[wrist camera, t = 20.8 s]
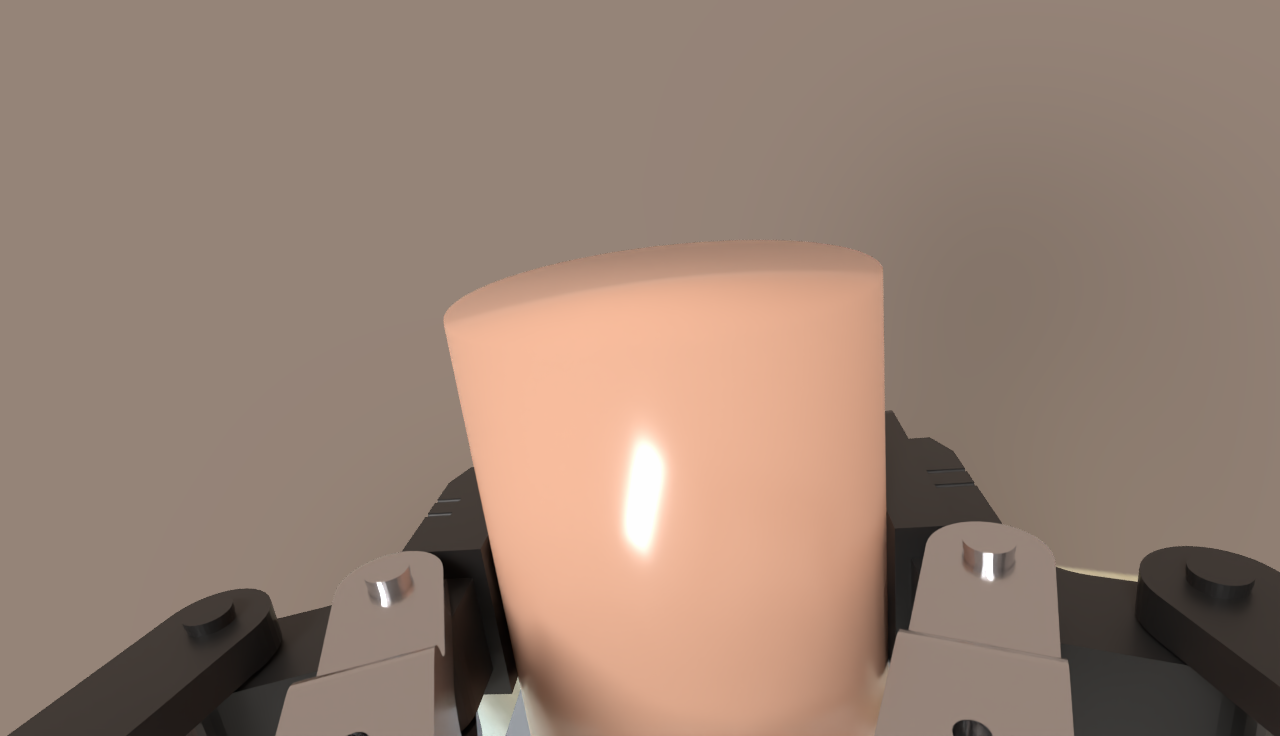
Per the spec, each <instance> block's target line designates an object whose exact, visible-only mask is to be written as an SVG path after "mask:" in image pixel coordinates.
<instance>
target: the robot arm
mask: <svg viewBox="0 0 1280 736" xmlns="http://www.w3.org/2000/svg"><path fill="white" fill-rule="evenodd" d="M885 455H886V525H887V595H888V659H889V663H890V667H889V671H888V676H887V680H886V685H885V689H884V693H883V698H882V702H881V707H880V711H879V716H878V720H877V725H876V729H875V734H874V736H1280V572H1278V571H1276V570H1275V569H1273V568H1271V567H1269V566H1267V565H1265V564H1263V563H1260V562H1258V561H1256V560H1253V559H1251V558H1248V557H1245V556H1242V555H1239V554H1235V553H1231V552H1228V551H1223V550H1218V549H1213V548H1205V547H1193V546H1182V547H1180V546H1179V547H1170V548H1164V549H1160V550H1157V551H1154V552H1152V553H1150V554H1148V555H1147V556H1146V557H1145V558H1144V559H1143V560H1142V562H1141V564H1140V568H1139V576H1138V582H1134V581H1127V580H1119V579H1112V578H1105V577H1098V576H1091V575H1085V574H1079V573H1075V572H1071V571H1067V570H1064V569H1061V568H1057V567H1056V564H1055V558H1054V555H1053V553H1052V551H1051V550H1050V548H1049V547H1048V546H1047V545H1046V544H1045V543H1044V542H1042V541H1041V540H1040V539H1038V538H1037V537H1035V536H1033V535H1032V534H1029V533H1027V532H1025V531H1023V530H1020V529H1018V528H1015V527H1012V526H1007V525H1003V524H1002V523H1001V521H1000V520H999V518H998V517H997V515H996V514H995V512H994V511H993V509H992V508H991V507H990V505H989V503H988V502H987V500H986V499H985V497H984V496H983V494H982V493H981V492H980V490H979V489H978V487H977V486H975V485H974V481H973V480H972V478H971V477H970V475H969V474H968V472H967V471H965V468H964V466H963V465H962V463H961V462H960V461H959V459H958V457H957V456H956V454H955V453H954V452H953V451H952V450H950V449H949V448H947V447H945V446H943V445H942V444H940V443H938V442H937V441H935V440H933V439H931V438H914V439H908V437H907V435H906V434H905V432H904V430H903V428H902V427H901V425H900V423H899V421H898V420H897V418H896V416H895V414H894V413H893V411H891V410H890V411H885ZM517 678H518V673H517V668H516V663H515V659H514V654H513V649H512V644H511V640H510V635H509V630H508V626H507V621H506V616H505V611H504V607H503V602H502V597H501V592H500V588H499V583H498V578H497V573H496V569H495V564H494V559H493V554H492V550H491V545H490V540H489V535H488V531H487V526H486V521H485V516H484V512H483V507H482V502H481V498H480V493H479V488H478V483H477V479H476V474H475V469H474V467H472V468H470V469H468V470H467V471H465V472H464V473H463V474H461V475H460V476H458V477H457V478H456V479H454V480H453V481H451V482H450V483H449V484H448V485H447V487H446V489H445V490H444V491H443V493H442V494H441V496H440V497H439V499H438V503H435V504H434V506H433V507H432V509H431V510H430V512H429V513H428V517H425V519H424V520H423V522H422V523H421V525H420V526H419V527H418V529H417V530H416V532H415V533H414V535H413V536H412V538H411V539H410V541H409V542H408V543H407V545H406V546H405V548H404V549H403V551H402V552H398V553H393V554H389V555H385V556H382V557H380V558H377V559H374V560H372V561H370V562H367V563H365V564H364V565H362V566H360V567H358V568H357V569H355V570H354V571H352V572H351V573H350V574H349V575H347V576H346V577H345V578H344V579H343V581H341V583H340V584H339V585H338V587H337V588H336V591H335V594H334V598H333V602H332V605H331V606H327V607H324V608H319V609H315V610H311V611H307V612H303V613H299V614H296V615H291V616H287V617H283V618H278V619H277V617H276V615H275V611H274V608H273V605H272V602H271V600H270V597H269V596H268V595H267V594H266V593H265V592H263V591H261V590H256V589H236V590H230V591H225V592H222V593H218V594H215V595H212V596H209V597H206V598H204V599H201V600H199V601H197V602H195V603H193V604H191V605H189V606H187V607H185V608H183V609H182V610H180V611H179V612H177V613H175V614H174V615H172V616H171V617H170V618H168V619H167V620H165V621H164V622H163V623H161V624H160V625H159V626H157V627H156V628H154V629H153V630H152V631H151V632H149V633H148V634H146V635H145V636H144V637H142V638H141V639H139V640H138V641H137V642H135V643H134V644H133V645H131V646H130V647H128V648H127V649H126V650H124V651H123V652H122V653H120V654H119V655H117V656H116V657H115V658H114V659H112V660H111V661H109V662H108V663H107V664H105V665H104V666H102V667H101V668H100V669H98V670H97V671H96V672H94V673H93V674H91V675H90V676H89V677H87V678H86V679H85V680H83V681H82V682H80V683H79V684H78V685H76V686H75V687H74V688H72V689H71V690H69V691H68V692H67V693H65V694H64V695H63V696H61V697H60V698H58V699H57V700H56V701H54V702H53V703H52V704H50V705H49V706H48V707H46V708H45V709H44V710H42V711H41V712H39V713H38V714H37V715H35V716H34V717H32V718H31V719H30V720H28V721H27V722H26V723H24V724H23V725H21V726H20V727H19V728H17V729H16V730H15V731H13V732H12V733H11V734H9V735H8V736H482V728H481V724H480V720H479V715H478V711H477V710H478V707H479V705H480V702H481V700H482V697H483V694H512V692H513V689H514V686H515V684H516V681H517Z"/></svg>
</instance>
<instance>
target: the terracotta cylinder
mask: <svg viewBox="0 0 1280 736" xmlns="http://www.w3.org/2000/svg"><path fill="white" fill-rule="evenodd" d="M444 326H445V332H446V336H447V341H448V346H449V351H450V355H451V360H452V365H453V370H454V374H455V378H456V384H457V389H458V393H459V398H460V403H461V407H462V412H463V417H464V422H465V426H466V431H467V436H468V440H469V445H470V450H471V455H472V459H473V464H474V469H475V474H476V479H477V483H478V488H479V493H480V498H481V502H482V507H483V512H484V516H485V521H486V526H487V531H488V535H489V540H490V545H491V550H492V554H493V559H494V564H495V569H496V573H497V578H498V583H499V588H500V592H501V597H502V602H503V607H504V611H505V616H506V621H507V626H508V630H509V635H510V640H511V644H512V649H513V654H514V659H515V663H516V668H517V673H518V678H519V682H520V687H521V692H522V697H523V701H524V706H525V711H526V716H527V720H528V725H529V730H530V735H531V736H874V734H875V729H876V725H877V720H878V716H879V711H880V707H881V702H882V698H883V693H884V689H885V685H886V680H887V676H888V671H889V665H888V595H887V525H886V455H885V385H884V316H883V268H882V266H881V265H880V263H879V262H878V261H877V260H875V259H874V258H873V257H871V256H869V255H867V254H864V253H862V252H859V251H856V250H853V249H850V248H846V247H841V246H835V245H830V244H822V243H815V242H803V241H786V240H728V241H708V242H693V243H682V244H672V245H662V246H654V247H646V248H638V249H631V250H624V251H618V252H612V253H605V254H600V255H595V256H590V257H584V258H579V259H574V260H570V261H565V262H561V263H557V264H553V265H548V266H544V267H541V268H537V269H534V270H530V271H526V272H523V273H520V274H516V275H514V276H510V277H507V278H505V279H502V280H499V281H496V282H493V283H491V284H489V285H486V286H484V287H482V288H479V289H477V290H475V291H473V292H471V293H469V294H468V295H466V296H464V297H463V298H461V299H460V300H458V301H457V302H455V303H454V304H453V305H452V306H451V307H450V308H449V309H448V310H447V312H446V314H445V315H444Z"/></svg>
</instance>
